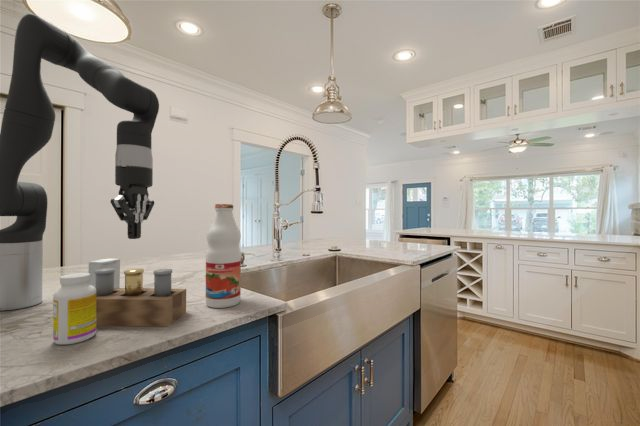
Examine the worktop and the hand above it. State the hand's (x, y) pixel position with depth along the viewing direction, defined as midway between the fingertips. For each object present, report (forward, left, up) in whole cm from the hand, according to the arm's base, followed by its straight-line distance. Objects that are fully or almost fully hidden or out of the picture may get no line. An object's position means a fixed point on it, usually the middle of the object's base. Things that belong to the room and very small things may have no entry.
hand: (134, 238), depth 68 cm
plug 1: (-7, 0, -15) cm, 16 cm away
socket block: (0, 0, -19) cm, 19 cm away
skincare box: (-16, +11, -20) cm, 27 cm away
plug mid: (0, 0, -15) cm, 15 cm away
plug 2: (+7, 0, -15) cm, 16 cm away
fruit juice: (+17, +12, -20) cm, 29 cm away
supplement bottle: (-5, -11, -20) cm, 23 cm away
